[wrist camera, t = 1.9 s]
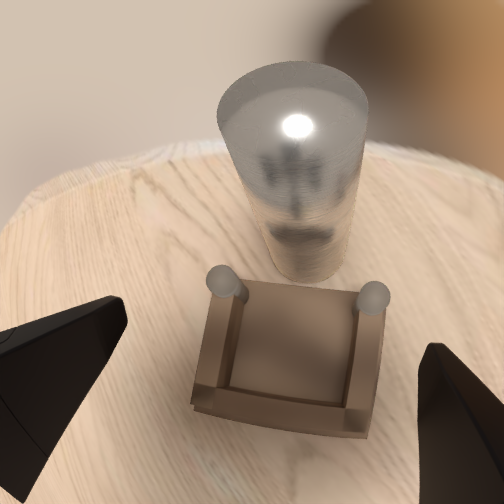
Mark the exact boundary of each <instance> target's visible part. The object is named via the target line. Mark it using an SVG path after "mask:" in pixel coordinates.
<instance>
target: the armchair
mask: <svg viewBox="0 0 504 504" xmlns="http://www.w3.org/2000/svg"><path fill="white" fill-rule="evenodd" d="M206 284H207V287H208V288H209V290H210V291H212V297H211V301H210V306H209V311H208V316H207V321H206V326H205V330H204V335H203V340H202V345H201V350H200V355H199V360H198V366H197V371H196V376H195V381H194V386H193V392H192V397H191V402H190V404H193V405H194V411H197V412H201V413H204V414H208V415H212V416H216V417H220V418H224V419H229V420H233V421H238V422H242V423H247V424H252V425H257V426H262V427H268V428H273V429H279V430H285V431H292V432H299V433H306V434H314V435H322V436H332V437H343V438H356V439H367V436H368V431H369V427H370V422H371V417H372V411H373V406H374V400H375V395H376V389H377V382H378V376H379V369H380V361H381V353H382V345H383V336H384V326H385V315H386V307H387V306H388V304H389V302H390V292H389V289H388V288H387V286H386V285H384V284H383V283H381V282H378V281H371V282H368V283H367V284H365V285H364V286H363V287H362V289H361V291H360V292H350V291H340V290H330V289H321V288H312V287H303V286H294V285H285V284H276V283H268V282H259V281H251V280H243V279H239V277H238V276H237V275H236V274H235V272H234V271H233V270H232V269H231V268H230V267H228V266H226V265H218V266H215V267H213V268H212V269H211V270H210V271H209V272H208V274H207V277H206Z"/></svg>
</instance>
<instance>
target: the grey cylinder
mask: <svg viewBox="0 0 504 504" xmlns="http://www.w3.org/2000/svg"><path fill="white" fill-rule="evenodd" d="M368 108H369V106H368V101H367V98H366V96H365V93H364V92H363V90H362V88H361V87H360V86H359V85H358V84H357V83H356V82H355V81H354V80H353V79H352V78H351V77H349V76H348V75H347V74H345V73H343V72H341V71H339V70H337V69H335V68H332V67H330V66H327V65H323V64H319V63H314V62H304V61H289V62H281V63H275V64H271V65H267V66H264V67H261V68H258V69H256V70H254V71H251V72H249V73H247V74H246V75H244V76H242V77H241V78H240V79H238V80H237V81H236V82H234V83H233V84H232V85H231V86H230V87H229V89H227V91H226V92H225V93H224V95H223V96H222V98H221V100H220V102H219V105H218V109H217V123H218V126H219V129H220V131H221V134H222V136H223V138H224V141H225V143H226V146H227V148H228V151H229V153H230V155H231V158H232V160H233V163H234V165H235V168H236V170H237V173H238V175H239V177H240V180H241V182H242V185H243V187H244V190H245V192H246V195H247V197H248V200H249V202H250V205H251V207H252V210H253V212H254V215H255V217H256V220H257V222H258V225H259V227H260V230H261V232H262V235H263V237H264V240H265V242H266V245H267V247H268V250H269V252H270V255H271V257H272V260H273V262H274V264H275V266H276V268H277V269H278V270H279V271H280V272H281V273H282V274H283V275H284V276H285V277H287V278H288V279H290V280H292V281H295V282H298V283H306V284H310V283H317V282H320V281H323V280H325V279H327V278H329V277H330V276H332V275H333V274H334V273H335V272H336V271H337V270H338V269H339V267H340V266H341V264H342V262H343V259H344V256H345V252H346V247H347V242H348V237H349V232H350V228H351V222H352V217H353V212H354V207H355V201H356V196H357V190H358V184H359V178H360V172H361V165H362V159H363V152H364V145H365V137H366V130H367V121H368V113H369V111H368V110H369V109H368Z"/></svg>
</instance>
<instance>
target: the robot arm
mask: <svg viewBox="0 0 504 504" xmlns="http://www.w3.org/2000/svg"><path fill="white" fill-rule="evenodd" d="M127 323H128V319H127V314H126V311H125V306H124V302H123V300H122V299H121V298H120V297H116V296H112V295H110V296H106V297H103V298H100V299H97V300H94V301H91V302H88V303H85V304H82V305H79V306H76V307H73V308H70V309H68V310H65V311H62V312H59V313H56V314H53V315H50V316H47V317H44V318H41V319H38V320H35V321H32V322H29V323H26V324H23V325H20V326H18V327H14V328H11V329H8V330H5V331H2V332H0V486H1V487H2V488H3V489H4V490H6V491H7V492H8V493H9V494H11V495H12V496H13V497H14V498H16V499H17V500H18V501H19V502H21V503H22V504H23V503H24V502H25V501H26V499H27V497H28V495H29V493H30V492H31V490H32V488H33V486H34V484H35V482H36V480H37V479H38V477H39V475H40V473H41V471H42V469H43V468H44V466H45V464H46V462H47V461H48V458H49V457H50V455H51V453H52V451H53V450H54V448H55V446H56V445H57V443H58V441H59V439H60V438H61V436H62V434H63V433H64V431H65V429H66V428H67V426H68V424H69V423H70V421H71V419H72V418H73V416H74V414H75V413H76V411H77V410H78V408H79V406H80V405H81V403H82V402H83V400H84V398H85V397H86V395H87V394H88V392H89V390H90V389H91V387H92V386H93V384H94V383H95V381H96V379H97V378H98V376H99V375H100V373H101V372H102V370H103V369H104V367H105V365H106V364H107V362H108V360H109V359H110V357H111V355H112V353H113V351H114V349H115V347H116V345H117V343H118V341H119V340H120V338H121V336H122V334H123V332H124V330H125V328H126V326H127ZM417 422H418V440H419V469H420V492H419V504H504V404H503V403H502V402H501V401H500V400H499V399H498V398H497V397H496V396H495V395H494V394H493V393H492V392H491V391H490V390H489V388H488V387H487V386H486V385H485V384H484V383H483V382H482V381H481V380H480V379H479V378H478V377H477V376H476V375H475V374H474V373H473V372H472V371H471V370H470V369H469V368H468V367H467V366H466V365H465V364H464V363H463V362H462V361H461V360H460V359H459V358H458V357H457V356H456V355H455V354H454V353H453V352H452V351H451V350H450V349H449V348H448V347H447V346H446V345H444V344H443V343H433V342H431V343H429V344H428V346H427V348H426V350H425V353H424V355H423V358H422V360H421V363H420V365H419V369H418V418H417Z"/></svg>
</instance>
